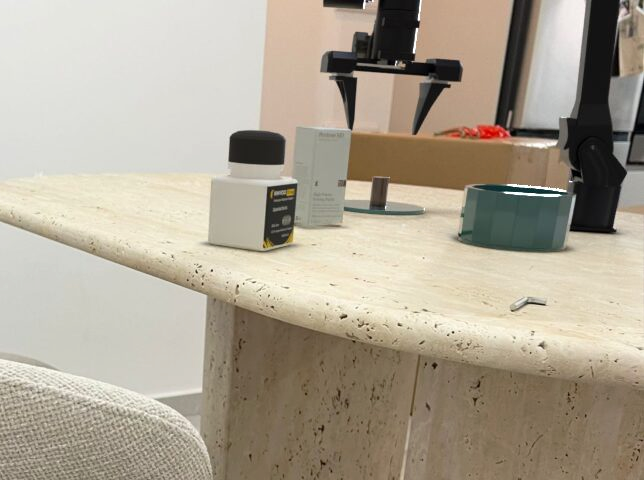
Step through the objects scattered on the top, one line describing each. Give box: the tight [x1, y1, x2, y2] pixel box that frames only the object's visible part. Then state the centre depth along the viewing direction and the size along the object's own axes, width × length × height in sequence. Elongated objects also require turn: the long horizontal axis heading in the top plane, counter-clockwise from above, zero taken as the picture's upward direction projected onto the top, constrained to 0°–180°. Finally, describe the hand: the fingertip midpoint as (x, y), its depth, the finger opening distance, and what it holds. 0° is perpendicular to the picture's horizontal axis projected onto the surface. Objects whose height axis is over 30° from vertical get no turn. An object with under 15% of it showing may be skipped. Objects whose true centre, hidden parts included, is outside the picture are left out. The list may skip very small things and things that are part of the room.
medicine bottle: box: [207, 129, 298, 252], centre depth 103 cm, size 7×7×12 cm
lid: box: [344, 175, 426, 216], centre depth 139 cm, size 14×14×5 cm
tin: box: [457, 183, 576, 253], centre depth 115 cm, size 13×13×6 cm
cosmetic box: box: [291, 125, 352, 229], centre depth 121 cm, size 6×4×12 cm
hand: (382, 132), depth 133 cm, fingers open, 9 cm apart
